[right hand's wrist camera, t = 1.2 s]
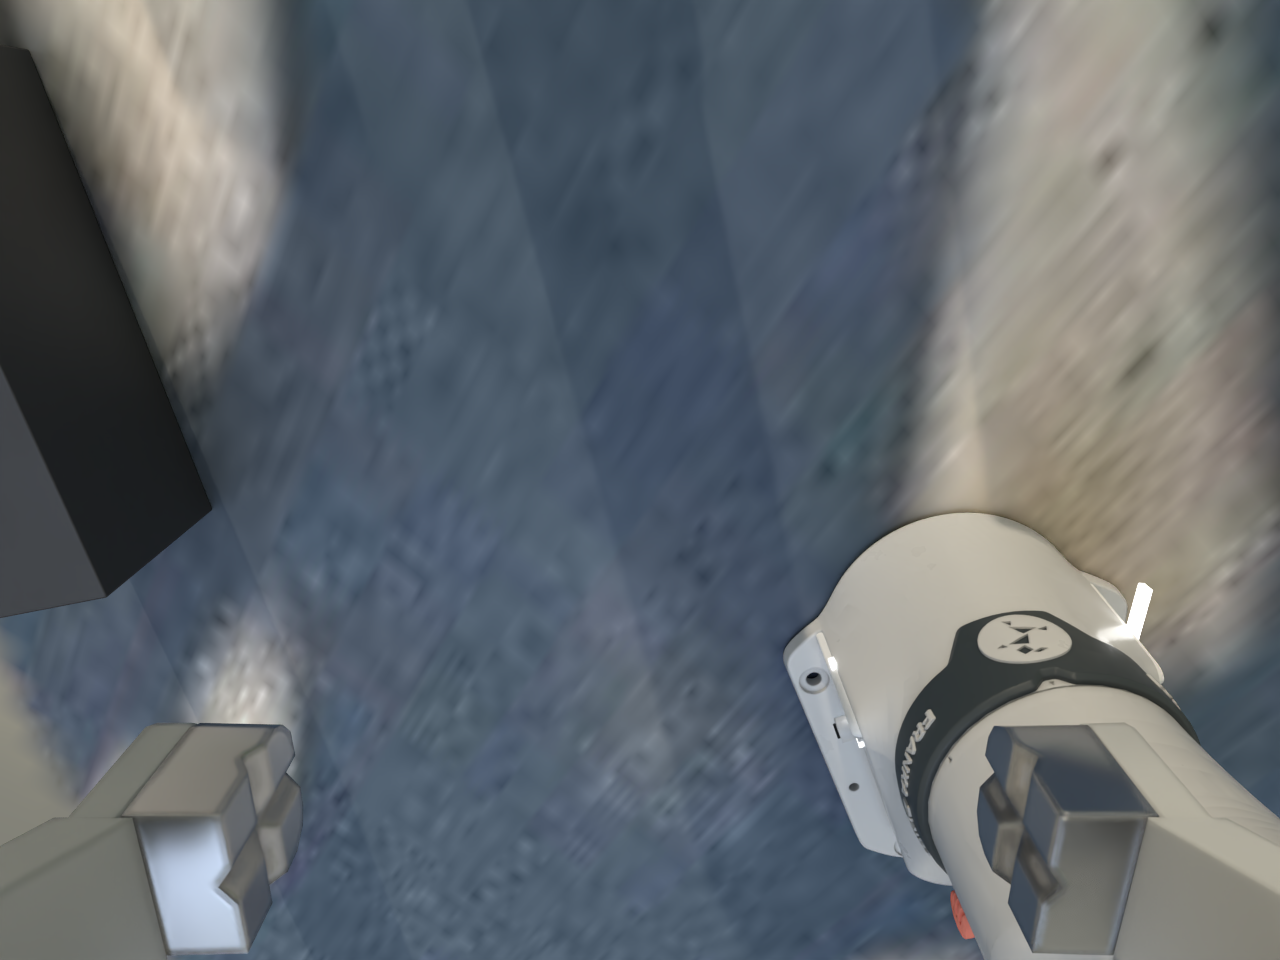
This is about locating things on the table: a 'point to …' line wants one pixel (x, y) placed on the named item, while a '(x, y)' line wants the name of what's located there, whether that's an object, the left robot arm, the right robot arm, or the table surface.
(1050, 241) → the table surface
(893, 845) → the right robot arm
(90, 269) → the box
